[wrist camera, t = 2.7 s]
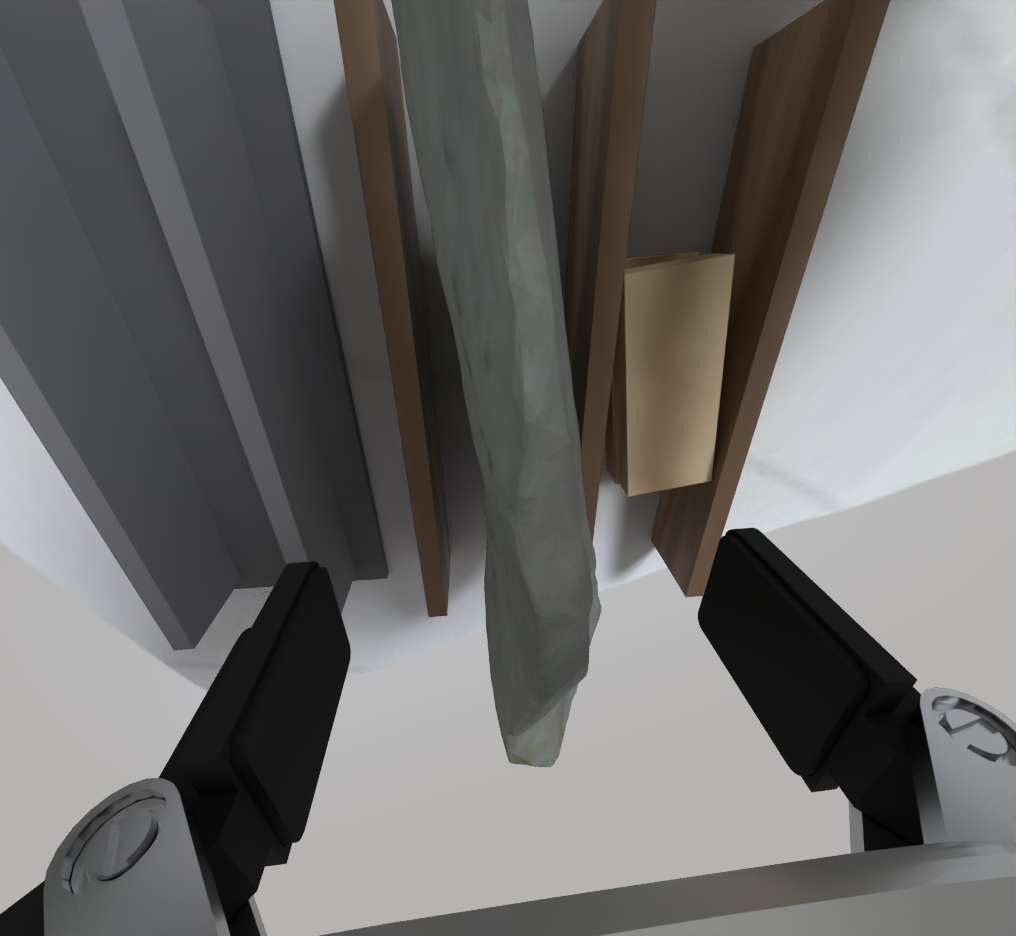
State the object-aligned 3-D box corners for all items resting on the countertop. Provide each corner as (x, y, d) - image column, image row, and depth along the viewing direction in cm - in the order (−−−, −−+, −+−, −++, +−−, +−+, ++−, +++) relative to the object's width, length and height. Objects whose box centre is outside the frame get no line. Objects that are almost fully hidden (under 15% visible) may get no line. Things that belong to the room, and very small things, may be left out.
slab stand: (265, -15, 16) (159, -150, 11) (388, 572, 32) (371, 644, 27) (-117, -27, 15) (-458, -182, 10) (202, 585, 31) (143, 663, 26)
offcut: (711, 253, 20) (735, 254, 18) (694, 464, 26) (711, 481, 24) (610, 271, 20) (624, 275, 18) (617, 479, 26) (628, 496, 24)
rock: (565, 528, 32) (686, 880, 14) (486, 542, 32) (511, 912, 14) (514, 68, 18) (1322, -2785, 1) (378, 93, 18) (-1097, -2311, 1)
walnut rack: (778, 48, 19) (897, -25, 14) (665, 539, 33) (702, 595, 28) (368, 38, 18) (326, -46, 12) (434, 554, 32) (428, 617, 27)
